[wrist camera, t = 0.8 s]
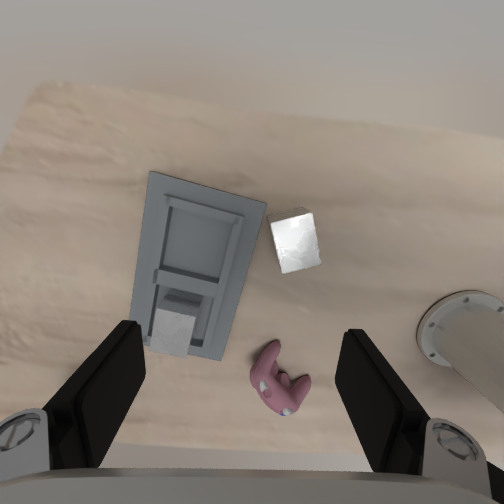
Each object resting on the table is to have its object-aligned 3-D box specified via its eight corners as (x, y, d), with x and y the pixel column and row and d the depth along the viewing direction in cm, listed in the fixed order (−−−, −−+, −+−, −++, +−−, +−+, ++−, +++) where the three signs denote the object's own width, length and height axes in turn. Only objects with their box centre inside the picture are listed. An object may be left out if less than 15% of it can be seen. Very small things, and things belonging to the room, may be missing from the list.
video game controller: (256, 341, 37) (239, 384, 31) (278, 337, 34) (264, 383, 29) (291, 380, 39) (280, 426, 34) (314, 378, 37) (307, 428, 31)
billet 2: (301, 206, 29) (312, 212, 24) (310, 251, 31) (321, 264, 26) (266, 216, 29) (270, 223, 25) (277, 259, 31) (282, 273, 26)
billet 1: (203, 296, 31) (195, 317, 27) (195, 332, 33) (186, 358, 28) (170, 288, 31) (156, 308, 26) (163, 325, 33) (149, 350, 28)
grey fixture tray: (266, 203, 29) (267, 205, 26) (221, 356, 36) (220, 369, 33) (152, 171, 27) (143, 170, 25) (129, 336, 34) (120, 348, 32)
